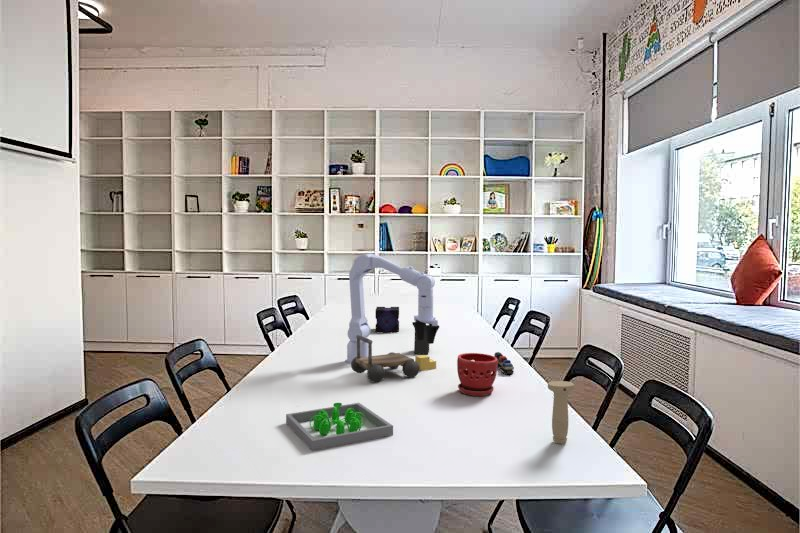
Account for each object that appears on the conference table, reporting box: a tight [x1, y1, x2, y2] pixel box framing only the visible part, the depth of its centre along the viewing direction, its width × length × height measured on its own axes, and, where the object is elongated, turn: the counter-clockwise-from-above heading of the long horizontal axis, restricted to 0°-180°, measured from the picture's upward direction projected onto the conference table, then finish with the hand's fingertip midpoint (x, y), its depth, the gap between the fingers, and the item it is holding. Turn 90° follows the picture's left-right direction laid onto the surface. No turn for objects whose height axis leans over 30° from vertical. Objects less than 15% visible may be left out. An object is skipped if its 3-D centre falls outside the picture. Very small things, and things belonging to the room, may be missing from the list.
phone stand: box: [413, 330, 430, 356], centre depth 243 cm, size 9×6×12 cm, turn 173°
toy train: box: [493, 351, 515, 375], centre depth 215 cm, size 4×22×5 cm, turn 3°
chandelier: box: [309, 402, 366, 437], centre depth 150 cm, size 15×15×7 cm
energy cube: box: [375, 306, 400, 333], centre depth 294 cm, size 12×12×12 cm
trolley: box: [350, 335, 420, 383], centre depth 205 cm, size 16×20×15 cm
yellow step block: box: [414, 354, 437, 372], centre depth 215 cm, size 4×7×5 cm, turn 118°
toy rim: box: [285, 402, 394, 452], centre depth 150 cm, size 22×22×2 cm
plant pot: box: [456, 352, 498, 397], centre depth 183 cm, size 13×13×12 cm
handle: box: [547, 380, 575, 445], centre depth 140 cm, size 5×6×15 cm
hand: (425, 341), depth 214 cm, fingers open, 7 cm apart
